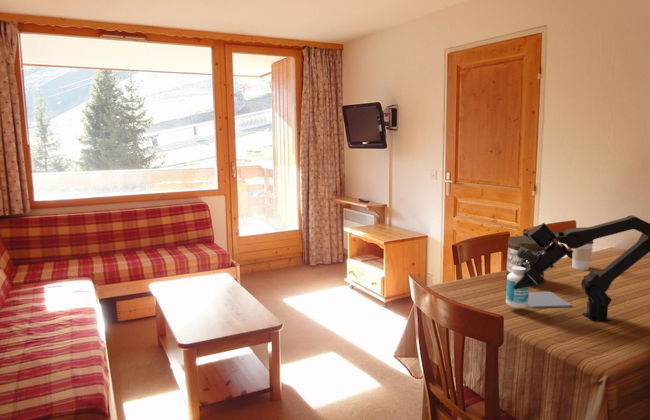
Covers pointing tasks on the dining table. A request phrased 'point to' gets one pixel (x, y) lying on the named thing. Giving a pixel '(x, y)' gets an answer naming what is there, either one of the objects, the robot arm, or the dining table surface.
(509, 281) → the pill bottle
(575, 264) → the coffee cup
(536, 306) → the slate mat
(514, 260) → the labeled lidded canister
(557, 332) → the dining table surface
